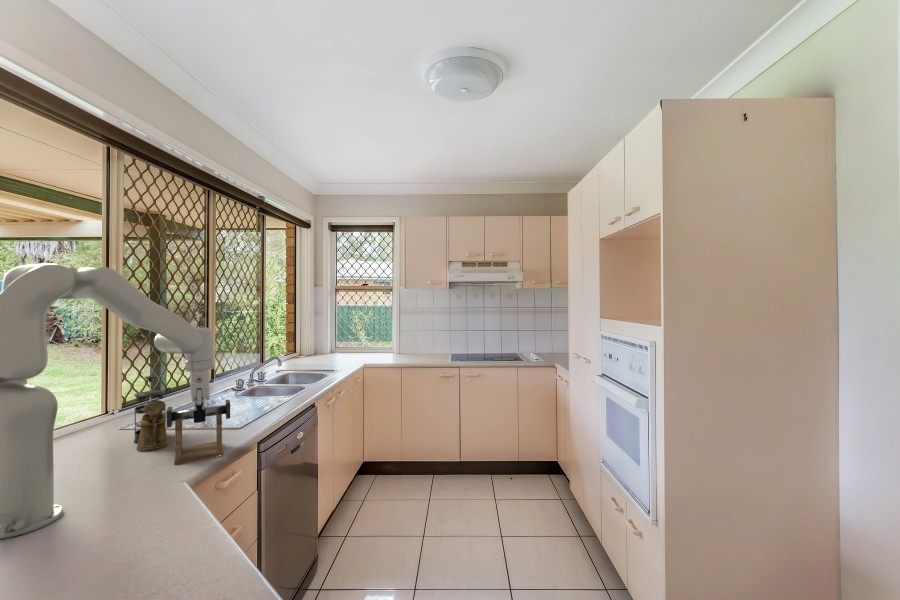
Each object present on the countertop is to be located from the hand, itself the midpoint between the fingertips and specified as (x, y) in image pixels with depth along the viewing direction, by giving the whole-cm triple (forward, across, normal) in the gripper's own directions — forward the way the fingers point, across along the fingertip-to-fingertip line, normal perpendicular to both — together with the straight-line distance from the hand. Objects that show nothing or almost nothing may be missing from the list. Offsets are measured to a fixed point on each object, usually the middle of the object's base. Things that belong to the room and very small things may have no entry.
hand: (199, 420), depth 129 cm
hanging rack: (+11, 0, 0) cm, 11 cm away
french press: (+11, +26, +16) cm, 32 cm away
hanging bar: (0, 0, 0) cm, 0 cm away
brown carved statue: (+11, +14, +14) cm, 23 cm away
